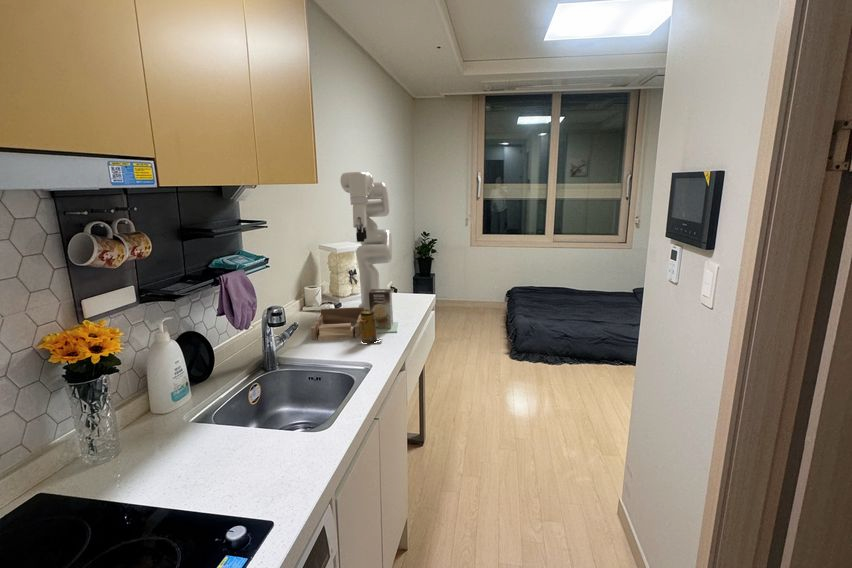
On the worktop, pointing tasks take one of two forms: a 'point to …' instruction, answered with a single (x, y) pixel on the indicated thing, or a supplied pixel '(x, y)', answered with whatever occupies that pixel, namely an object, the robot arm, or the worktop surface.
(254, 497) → the worktop surface
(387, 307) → the coffee box
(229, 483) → the worktop surface
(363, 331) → the condiment
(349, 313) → the rack
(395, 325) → the mat
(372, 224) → the robot arm
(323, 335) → the offcut stack
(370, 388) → the worktop surface
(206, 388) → the worktop surface
